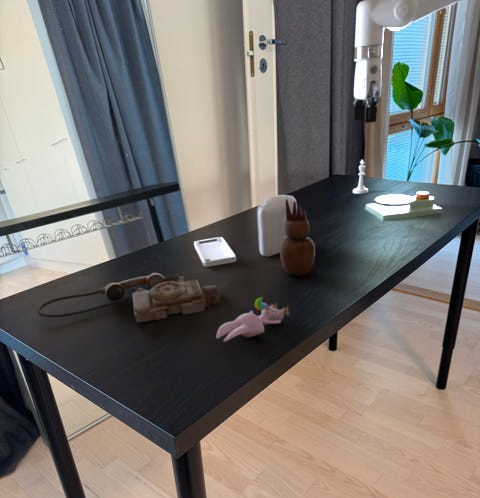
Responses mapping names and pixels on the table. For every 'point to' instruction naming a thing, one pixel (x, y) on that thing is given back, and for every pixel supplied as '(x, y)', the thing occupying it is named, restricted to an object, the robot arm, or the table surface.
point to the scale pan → (394, 200)
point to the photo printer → (272, 223)
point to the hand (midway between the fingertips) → (364, 121)
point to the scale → (405, 209)
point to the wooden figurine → (297, 243)
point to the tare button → (422, 195)
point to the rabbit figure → (252, 321)
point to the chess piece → (361, 181)
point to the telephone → (154, 297)
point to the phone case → (214, 252)
